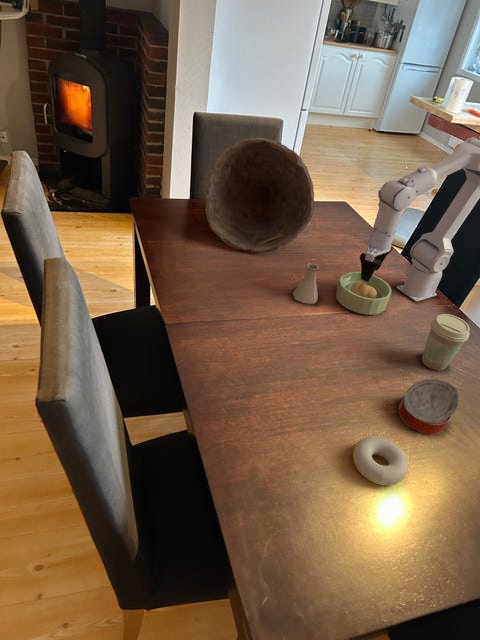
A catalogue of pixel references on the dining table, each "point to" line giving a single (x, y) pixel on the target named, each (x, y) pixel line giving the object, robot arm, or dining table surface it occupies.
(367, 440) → the donut
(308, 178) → the bowl
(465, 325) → the coffee cup
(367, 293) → the potato
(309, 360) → the dining table surface
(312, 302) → the flask
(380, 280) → the celadon bowl
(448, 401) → the canned food
